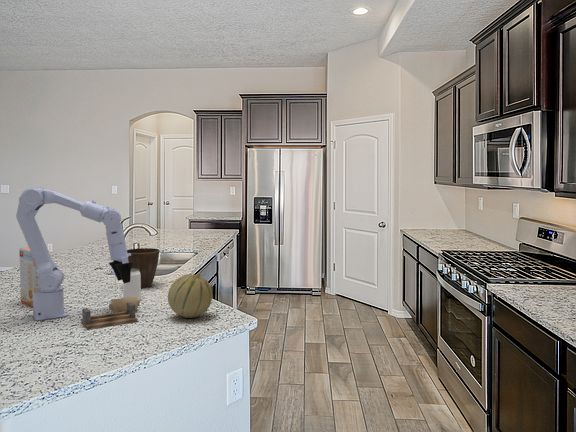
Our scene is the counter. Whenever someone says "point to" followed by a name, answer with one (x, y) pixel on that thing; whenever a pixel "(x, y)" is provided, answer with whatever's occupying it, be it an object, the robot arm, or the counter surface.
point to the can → (133, 285)
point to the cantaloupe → (190, 296)
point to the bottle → (122, 304)
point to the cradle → (108, 318)
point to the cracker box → (28, 276)
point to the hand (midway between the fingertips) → (123, 281)
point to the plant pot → (144, 263)
